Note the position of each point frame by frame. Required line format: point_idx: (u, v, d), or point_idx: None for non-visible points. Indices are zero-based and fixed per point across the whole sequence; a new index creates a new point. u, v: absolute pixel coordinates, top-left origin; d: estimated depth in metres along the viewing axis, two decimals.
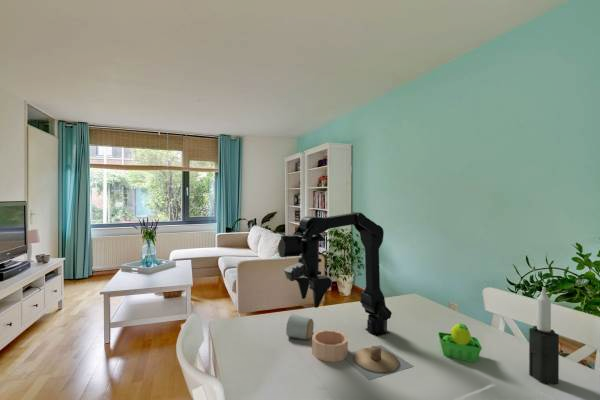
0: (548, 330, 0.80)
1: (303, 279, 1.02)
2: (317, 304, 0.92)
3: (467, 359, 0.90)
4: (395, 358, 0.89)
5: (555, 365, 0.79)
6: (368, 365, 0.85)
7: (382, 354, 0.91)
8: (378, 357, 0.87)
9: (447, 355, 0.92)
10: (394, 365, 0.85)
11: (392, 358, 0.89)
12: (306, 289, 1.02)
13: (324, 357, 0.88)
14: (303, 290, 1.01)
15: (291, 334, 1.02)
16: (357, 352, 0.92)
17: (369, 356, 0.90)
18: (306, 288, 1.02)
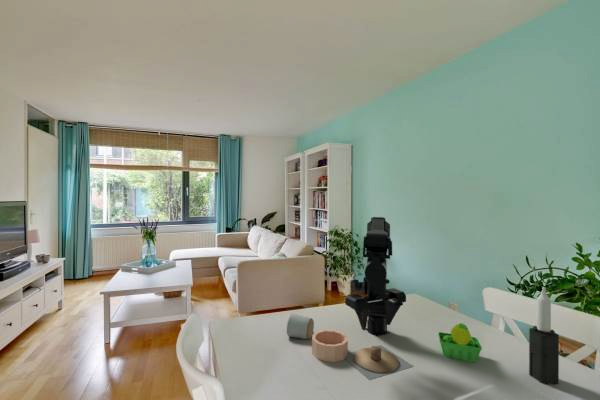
0: (548, 330, 0.80)
1: (389, 303, 0.91)
2: (362, 326, 0.86)
3: (467, 359, 0.90)
4: (395, 358, 0.89)
5: (555, 365, 0.79)
6: (368, 365, 0.85)
7: (382, 354, 0.91)
8: (378, 357, 0.87)
9: (447, 355, 0.92)
10: (394, 365, 0.85)
11: (392, 358, 0.89)
12: (390, 315, 0.90)
13: (324, 357, 0.88)
14: (388, 315, 0.91)
15: (291, 334, 1.02)
16: (357, 352, 0.92)
17: (369, 356, 0.90)
18: (390, 314, 0.90)
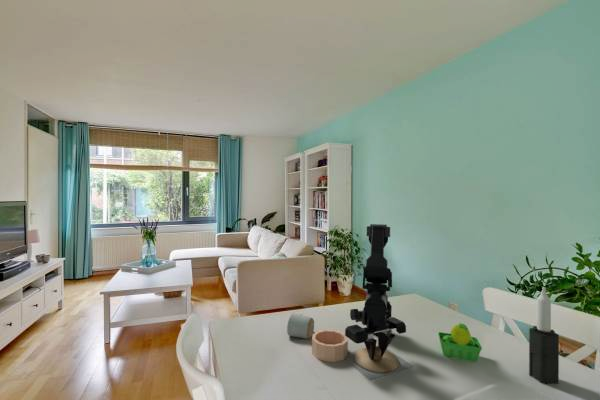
0: (548, 330, 0.80)
1: (381, 335, 0.90)
2: (370, 356, 0.88)
3: (467, 359, 0.90)
4: (395, 358, 0.89)
5: (555, 365, 0.79)
6: (368, 365, 0.85)
7: None
8: (378, 357, 0.87)
9: (447, 355, 0.92)
10: (394, 365, 0.85)
11: (392, 358, 0.89)
12: (382, 348, 0.88)
13: (324, 357, 0.88)
14: (380, 347, 0.90)
15: (292, 333, 1.03)
16: (357, 352, 0.92)
17: None
18: (382, 347, 0.88)
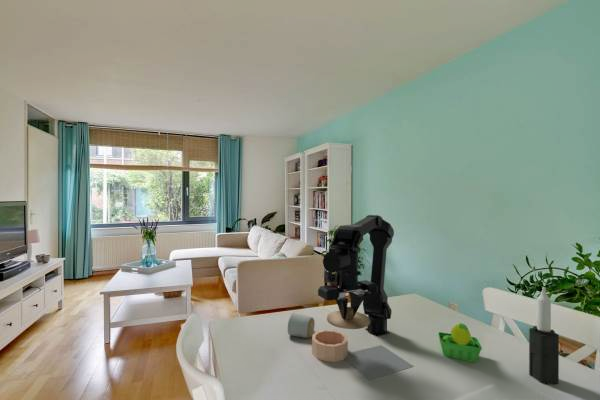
0: (548, 330, 0.80)
1: (353, 296, 0.92)
2: (342, 315, 0.90)
3: (467, 359, 0.90)
4: (367, 318, 0.92)
5: (555, 365, 0.79)
6: (340, 323, 0.87)
7: (355, 315, 0.94)
8: (350, 316, 0.90)
9: (447, 355, 0.92)
10: (365, 323, 0.88)
11: (364, 318, 0.92)
12: (354, 308, 0.91)
13: (324, 357, 0.88)
14: (352, 307, 0.92)
15: (292, 333, 1.03)
16: (331, 313, 0.95)
17: None
18: (354, 307, 0.91)
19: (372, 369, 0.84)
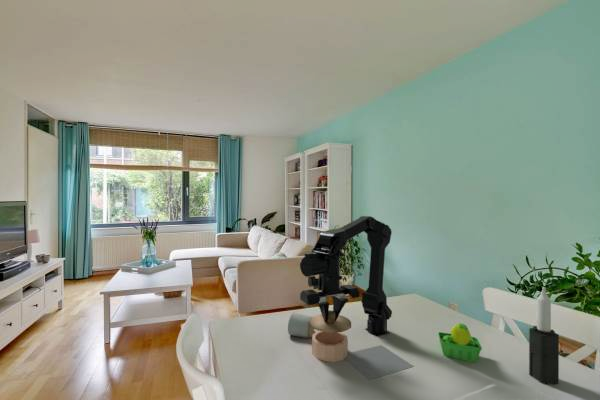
0: (548, 330, 0.80)
1: (336, 300, 0.94)
2: (324, 319, 0.92)
3: (467, 359, 0.90)
4: (349, 321, 0.94)
5: (555, 365, 0.79)
6: (321, 326, 0.90)
7: (337, 318, 0.96)
8: (332, 320, 0.92)
9: (447, 355, 0.92)
10: (346, 326, 0.90)
11: (346, 321, 0.94)
12: (336, 311, 0.93)
13: (324, 357, 0.88)
14: None
15: (292, 332, 1.03)
16: (314, 317, 0.97)
17: None
18: (336, 310, 0.93)
19: (372, 369, 0.84)
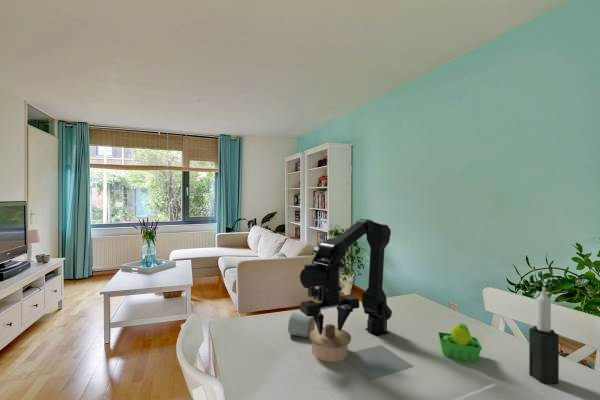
0: (548, 330, 0.80)
1: (340, 310, 0.95)
2: (319, 331, 0.92)
3: (467, 359, 0.90)
4: (348, 335, 0.94)
5: (555, 365, 0.79)
6: (321, 341, 0.90)
7: (337, 332, 0.96)
8: (331, 334, 0.92)
9: (447, 355, 0.92)
10: (345, 341, 0.90)
11: (345, 335, 0.94)
12: (341, 321, 0.94)
13: (324, 357, 0.88)
14: (339, 321, 0.95)
15: (293, 332, 1.04)
16: (314, 330, 0.97)
17: (324, 334, 0.95)
18: (341, 320, 0.94)
19: (372, 369, 0.84)
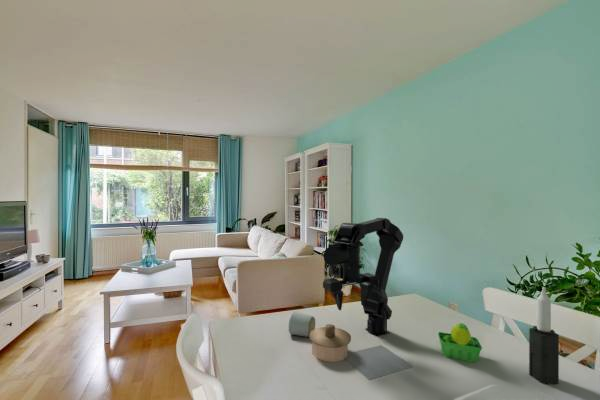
0: (548, 330, 0.80)
1: (363, 286, 1.01)
2: (338, 307, 0.97)
3: (467, 359, 0.90)
4: (348, 335, 0.94)
5: (555, 365, 0.79)
6: (321, 341, 0.90)
7: (337, 332, 0.96)
8: (331, 334, 0.92)
9: (447, 355, 0.92)
10: (345, 341, 0.90)
11: (345, 335, 0.94)
12: (364, 297, 1.00)
13: (324, 357, 0.88)
14: (362, 297, 1.01)
15: (293, 331, 1.04)
16: (314, 330, 0.97)
17: (324, 334, 0.95)
18: (364, 296, 1.00)
19: (372, 369, 0.84)
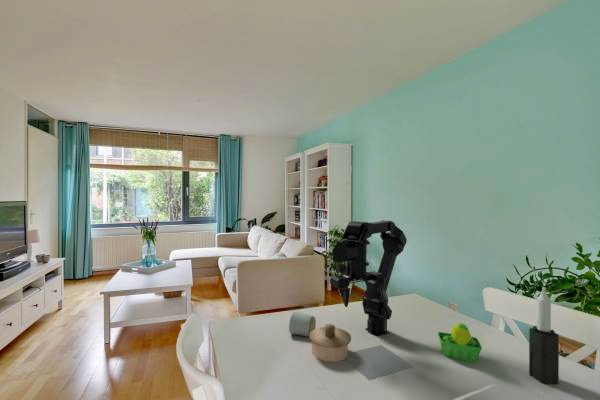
0: (548, 330, 0.80)
1: (369, 284, 1.03)
2: (345, 303, 0.98)
3: (467, 359, 0.90)
4: (348, 335, 0.94)
5: (555, 365, 0.79)
6: (321, 341, 0.90)
7: (337, 332, 0.96)
8: (331, 334, 0.92)
9: (447, 355, 0.92)
10: (345, 341, 0.90)
11: (345, 335, 0.94)
12: (370, 295, 1.01)
13: (324, 357, 0.88)
14: (368, 295, 1.03)
15: (294, 331, 1.04)
16: (314, 330, 0.97)
17: (324, 334, 0.95)
18: (370, 294, 1.01)
19: (372, 369, 0.84)
